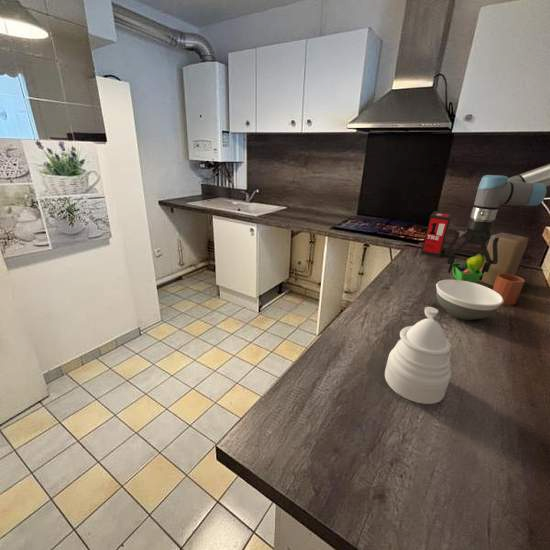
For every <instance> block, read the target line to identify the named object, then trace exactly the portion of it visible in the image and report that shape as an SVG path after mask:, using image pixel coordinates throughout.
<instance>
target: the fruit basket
mask: <svg viewBox="0 0 550 550" xmlns="http://www.w3.org/2000/svg"><path fill="white" fill-rule="evenodd" d="M484 257H485V256H484V254H482V253H477V254H476V255H474V256H471V257H468V258H467V259H466V263H465V262H464V263H458V262H454V263H453V267H452V276H453V277H454V278H455V280H462V281H468V282H472V283H476V284H478V282H479V281H478V280H479V279H480V277H481V276H482V275H483V274H482V273H481V272H480V271H479V270H480V268H481V267H482V266H483V263H484V261H485V258H484Z"/></svg>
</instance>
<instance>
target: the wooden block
mask: <svg viewBox="0 0 550 550" xmlns="http://www.w3.org/2000/svg"><path fill="white" fill-rule="evenodd" d="M491 236H494V237H497V236H498V237H499V240H498V243H497V248H498V262H497V264H491V265H490V268H489V271H488V272H484V274H483V277H482V280H478V282H480V283H484V284H486V285H489V286H492V287H493V286H494V283H495V280H496V277H497V275H498V274H500V273H505V274H511V275H515V276H516V274H517V272H518V269H519V266H520V264H521V262H522V259H523V256H524V253H525V251H526V249H527V246H528V243H529V237H526V236H521V235H517V234H511V233H507V232H499V233H495V234H491ZM486 247H487V250H488V253H489V255H490V258H491V260H493V243H492V242H491V239H489V240H488V243H487V245H486ZM484 258H485V257H484ZM485 262H486V259H485V261H484V263H485ZM484 263H483V266H484ZM483 266H482V267H481V268H480V269H479V271H480V272H482V269H483Z"/></svg>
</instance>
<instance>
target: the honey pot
mask: <svg viewBox="0 0 550 550" xmlns="http://www.w3.org/2000/svg"><path fill="white" fill-rule="evenodd" d="M438 313H439V310H438V309H437V308H435V307H434V306H433V307H432V306H425V307H424V316H425V317H426V318H423V319H421V320H419V321H418V322H416V323H415V324H414V325H409V326H405V327H403V328H402V329H401V330H400V331H399V337H400V339H399V340H398V341H397V343H396V344H395V345H394V347H393V348H391V351H390V352H389V354H388V357H387V361H386V366H385V369H384V379H385V381H386V383H387V385H388V386H389V388H391V389H392V391H394V392H395V393H396V394H398V395H399V396H401V397H403V398H405V399H406V400H408V401H412V402H414V403H418V404H423V405H432V404H433V405H434V404H437V403H440V402H441V401H442V400H443V399H444V398H445V395H446V392H447V390H448V387H449V383H450V382H451V379H452V370H451V358H450V355H449V353H450V351H451V350H452V345H451V342H450V341H449V339H448V338H447V337H446V335H445V333H444V330H443V328H442V326H441V325H440V323H439V322H438V321H437V320H435V319H434V318H435V317H437V315H438Z"/></svg>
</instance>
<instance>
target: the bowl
mask: <svg viewBox="0 0 550 550" xmlns="http://www.w3.org/2000/svg"><path fill="white" fill-rule="evenodd" d="M435 287H436V293H435V297H436V300H437V302H438V304H439V305H440V306H441V307H442V308H443V309H444V310H445V311H447V313H448V314H449V315H451V316H453V317H455V318H457V319H461V320H464V321H473V320H481V319H484V318H489V317H491V316H492V315H493V314H495V313H496V312H497V310H498V308H499V307H500V306H501V305H503V304H502V303H503V298H502V296H501V295H500V294H498V293H497V292H496V291H494V290H492V288H490V287H488V286H485V285H482V284H479V283H472V282H468V281H462V280H457V279H442V280H439V281H437V283H436V284H435Z"/></svg>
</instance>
